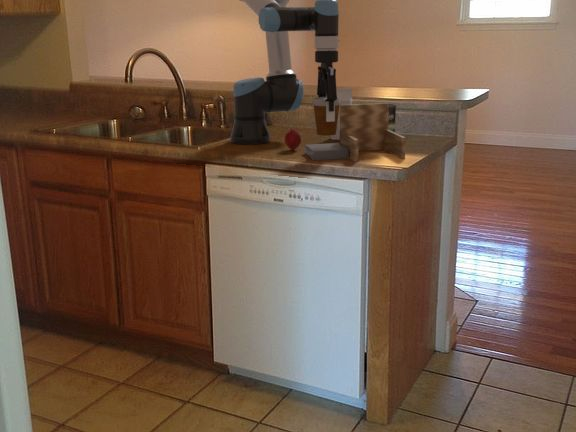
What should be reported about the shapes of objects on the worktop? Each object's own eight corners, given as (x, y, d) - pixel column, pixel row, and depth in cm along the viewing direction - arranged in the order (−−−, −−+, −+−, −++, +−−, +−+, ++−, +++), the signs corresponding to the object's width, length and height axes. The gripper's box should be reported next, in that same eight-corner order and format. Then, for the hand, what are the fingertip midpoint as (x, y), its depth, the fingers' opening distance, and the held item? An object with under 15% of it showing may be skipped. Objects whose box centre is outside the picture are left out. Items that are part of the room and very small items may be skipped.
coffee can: (398, 145, 239) (400, 106, 235) (371, 146, 238) (372, 107, 234) (390, 140, 249) (391, 102, 245) (363, 141, 247) (364, 103, 243)
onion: (285, 148, 236) (285, 126, 234) (301, 148, 236) (301, 126, 234) (284, 151, 231) (283, 129, 229) (300, 151, 230) (300, 129, 228)
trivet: (313, 160, 216) (313, 151, 216) (305, 153, 228) (305, 144, 227) (348, 158, 219) (348, 149, 218) (338, 151, 230) (338, 142, 229)
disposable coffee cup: (309, 133, 224) (308, 97, 221) (336, 131, 227) (336, 96, 223) (316, 137, 216) (316, 100, 212) (344, 135, 218) (344, 98, 214)
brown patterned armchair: (354, 161, 214) (355, 111, 209) (339, 151, 231) (339, 105, 226) (404, 158, 217) (406, 109, 212) (386, 148, 234) (387, 103, 229)
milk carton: (350, 140, 250) (350, 89, 245) (331, 140, 252) (331, 89, 246) (352, 137, 257) (352, 87, 252) (333, 136, 259) (334, 87, 253)
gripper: (347, 50, 204) (346, 123, 210) (329, 48, 224) (329, 114, 231) (323, 51, 202) (323, 124, 209) (307, 48, 223) (308, 115, 229)
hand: (326, 119), depth 220 cm, fingers closed on disposable coffee cup, 9 cm apart
